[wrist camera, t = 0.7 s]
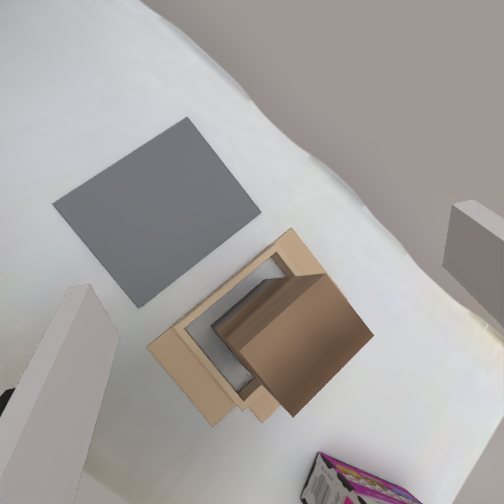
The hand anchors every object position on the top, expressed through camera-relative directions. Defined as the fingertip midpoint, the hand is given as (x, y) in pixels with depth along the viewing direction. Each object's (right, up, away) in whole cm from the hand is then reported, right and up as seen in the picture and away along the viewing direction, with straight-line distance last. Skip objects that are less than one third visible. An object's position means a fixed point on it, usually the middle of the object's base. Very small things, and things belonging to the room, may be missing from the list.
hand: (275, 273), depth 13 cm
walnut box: (-1, -6, +21) cm, 22 cm away
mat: (-9, +5, +20) cm, 23 cm away
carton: (0, -7, +21) cm, 22 cm away
